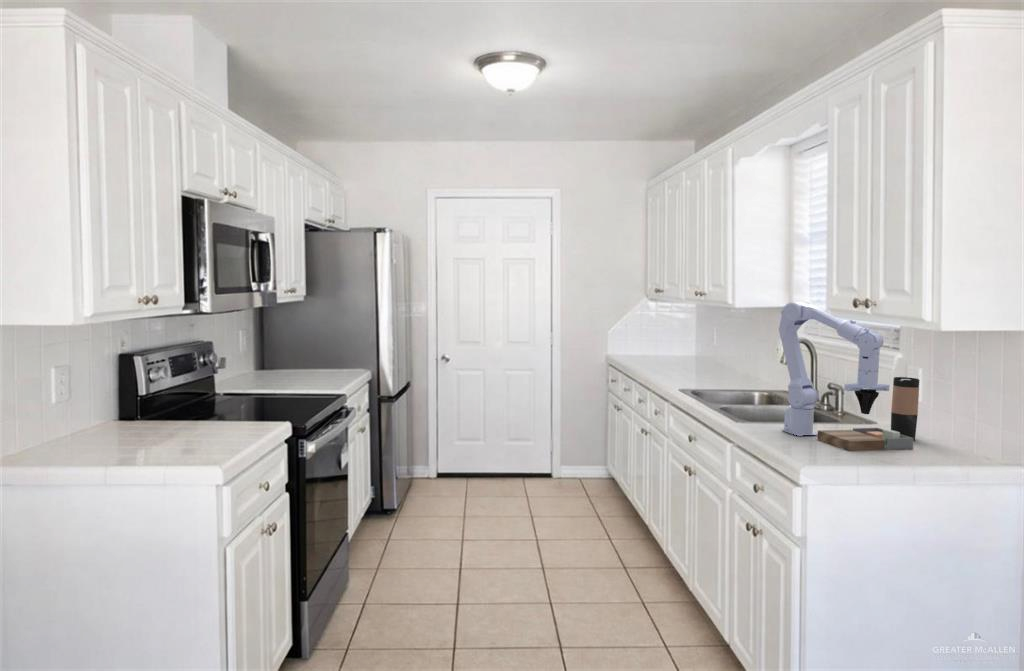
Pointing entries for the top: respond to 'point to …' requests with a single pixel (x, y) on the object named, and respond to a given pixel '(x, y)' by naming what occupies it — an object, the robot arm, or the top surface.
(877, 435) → the tile terracotta
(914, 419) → the travel mug
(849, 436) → the board
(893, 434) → the tile sage
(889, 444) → the box
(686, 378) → the top surface
